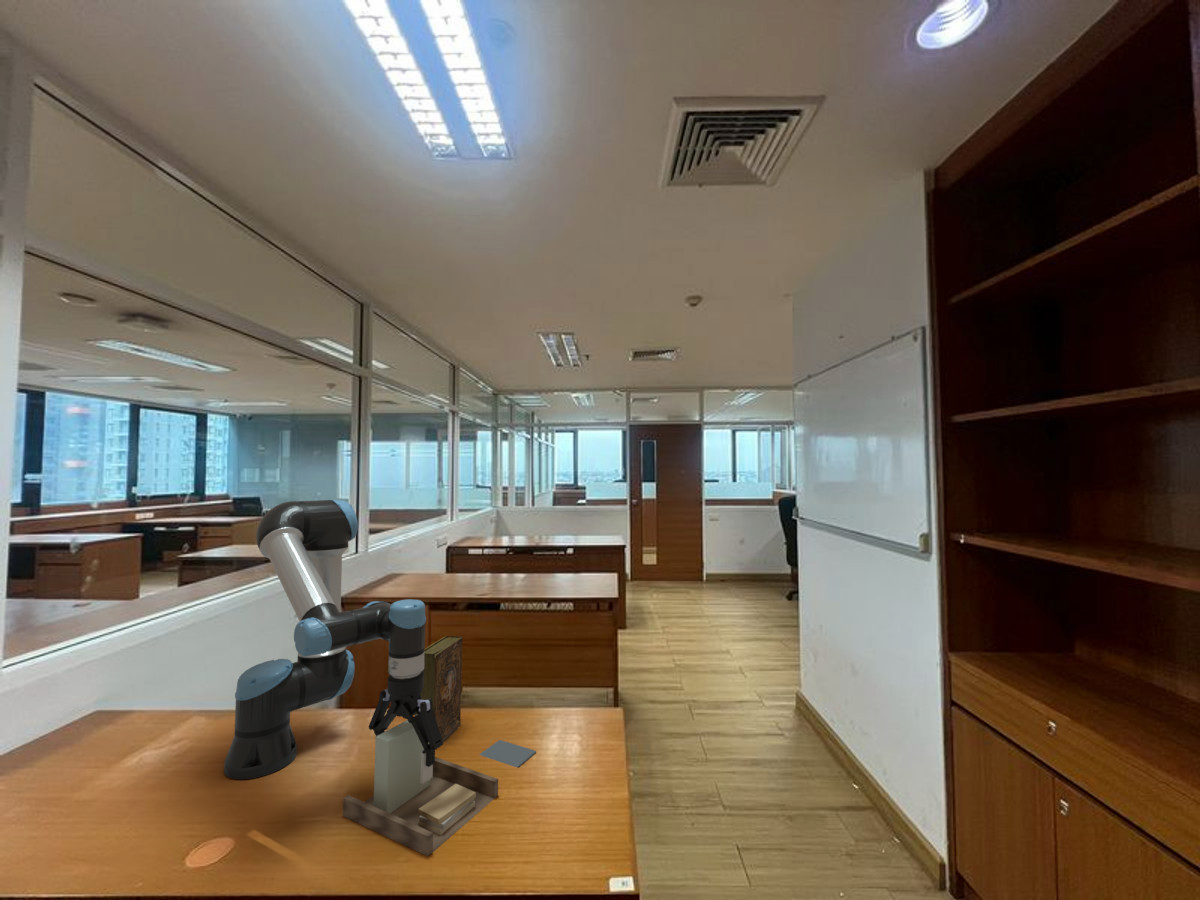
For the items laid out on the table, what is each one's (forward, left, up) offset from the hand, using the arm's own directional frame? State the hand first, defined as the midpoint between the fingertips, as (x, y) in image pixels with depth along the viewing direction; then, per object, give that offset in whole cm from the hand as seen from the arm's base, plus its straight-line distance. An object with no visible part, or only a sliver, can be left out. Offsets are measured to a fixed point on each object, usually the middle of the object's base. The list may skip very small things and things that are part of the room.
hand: (403, 771), depth 112 cm
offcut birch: (+13, 0, -5) cm, 14 cm away
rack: (+6, 0, -7) cm, 9 cm away
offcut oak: (+13, 0, -3) cm, 13 cm away
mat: (+8, +22, -7) cm, 24 cm away
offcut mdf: (+13, 0, -4) cm, 14 cm away
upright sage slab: (0, 0, -5) cm, 5 cm away
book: (-14, +25, -7) cm, 30 cm away
